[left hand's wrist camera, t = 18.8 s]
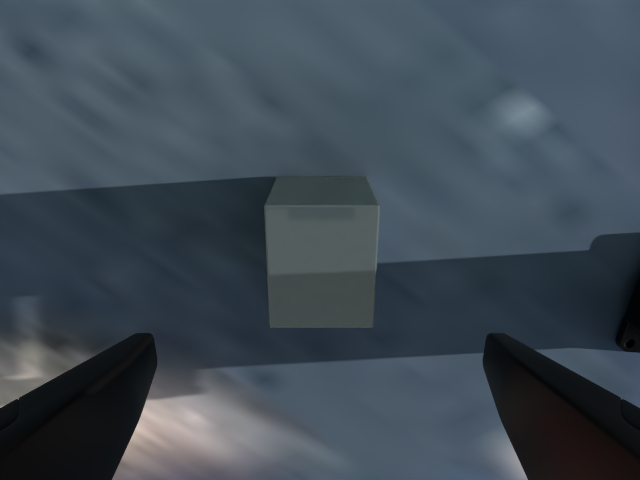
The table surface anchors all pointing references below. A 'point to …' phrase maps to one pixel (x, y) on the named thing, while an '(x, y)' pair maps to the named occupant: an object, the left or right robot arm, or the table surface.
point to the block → (321, 252)
